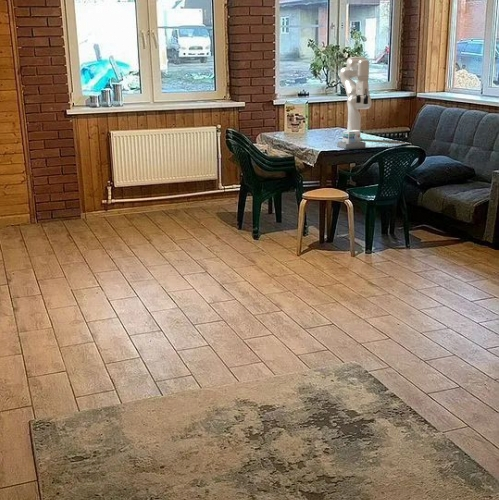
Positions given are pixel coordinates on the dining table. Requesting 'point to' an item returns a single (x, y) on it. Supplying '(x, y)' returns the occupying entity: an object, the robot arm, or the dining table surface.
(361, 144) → the sorting tray
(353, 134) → the light bulb box
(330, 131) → the dining table surface
